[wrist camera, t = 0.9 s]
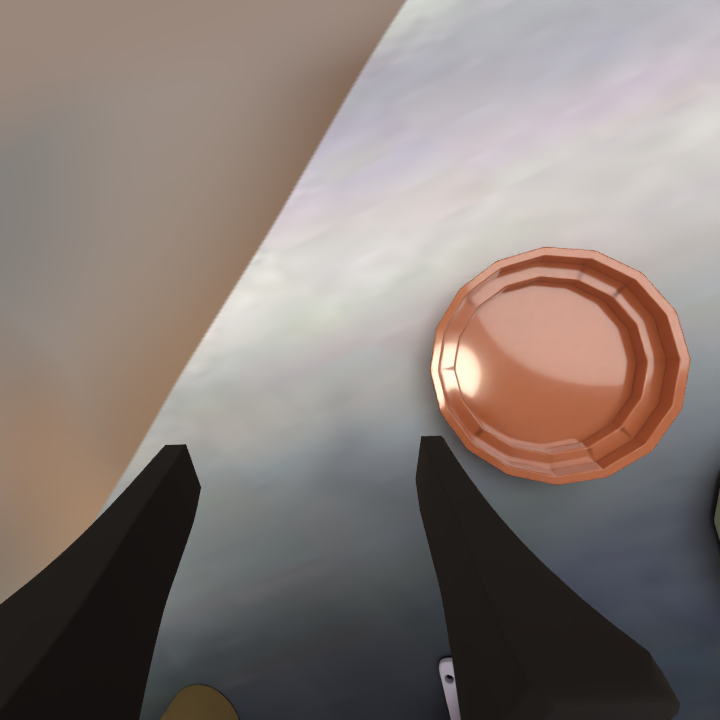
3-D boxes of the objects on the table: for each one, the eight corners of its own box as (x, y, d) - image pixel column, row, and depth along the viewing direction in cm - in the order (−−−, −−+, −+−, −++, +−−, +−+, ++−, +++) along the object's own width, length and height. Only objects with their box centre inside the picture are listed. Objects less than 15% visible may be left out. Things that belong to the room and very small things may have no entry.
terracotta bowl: (685, 446, 21) (720, 459, 18) (462, 483, 24) (462, 500, 21) (624, 234, 22) (648, 215, 19) (415, 295, 25) (408, 286, 22)
